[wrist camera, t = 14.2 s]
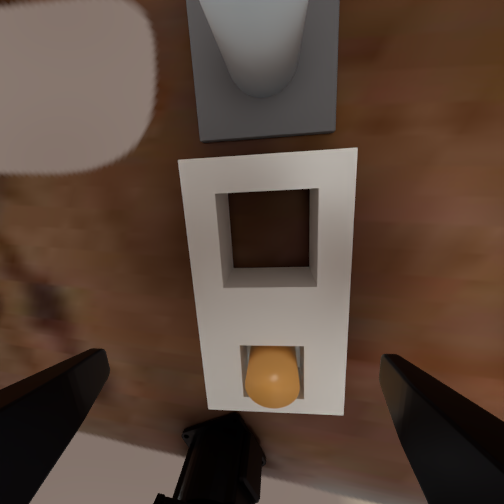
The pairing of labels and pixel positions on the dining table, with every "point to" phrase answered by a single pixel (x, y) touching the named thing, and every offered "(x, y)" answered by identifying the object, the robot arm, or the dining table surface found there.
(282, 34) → the cylinder
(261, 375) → the plunger
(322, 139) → the dining table surface
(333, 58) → the mat
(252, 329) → the white slotted block
